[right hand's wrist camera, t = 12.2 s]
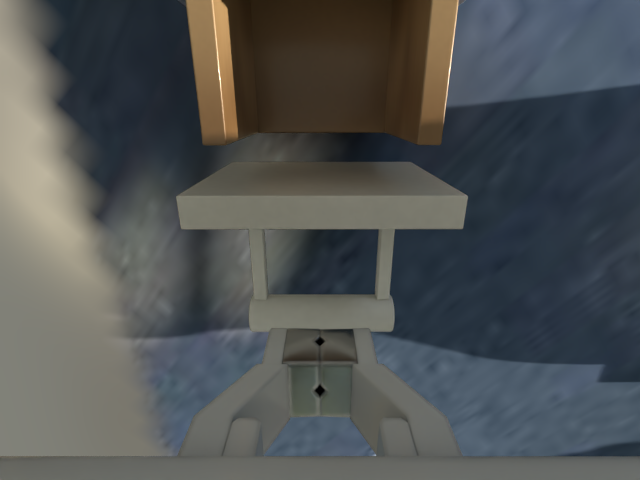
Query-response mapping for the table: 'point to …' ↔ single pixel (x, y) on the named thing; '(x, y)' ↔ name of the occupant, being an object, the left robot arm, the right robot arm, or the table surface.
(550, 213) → the table surface
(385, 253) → the drawer
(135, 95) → the table surface
